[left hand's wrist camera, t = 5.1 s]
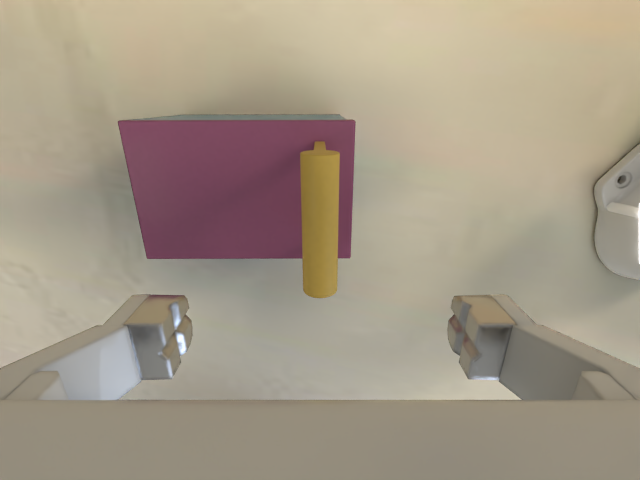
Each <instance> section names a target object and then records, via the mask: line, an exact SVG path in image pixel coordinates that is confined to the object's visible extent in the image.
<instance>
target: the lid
mask: <svg viewBox="0 0 640 480" xmlns="http://www.w3.org/2000/svg"><path fill="white" fill-rule="evenodd" d="M118 125H119V130H120V134H121V139H122V144H123V148H124V153H125V158H126V162H127V167H128V172H129V176H130V181H131V186H132V191H133V195H134V200H135V205H136V209H137V214H138V219H139V223H140V228H141V233H142V237H143V242H144V247H145V251H146V256H147V259H244V258H303V290H304V292H305V294H307V295H308V296H311V297H314V298H326V297H330V296H332V295H334V294H335V293H336V291H337V266H338V258H350V257H351V231H352V203H353V175H354V146H355V121H354V120H122V121H118Z"/></svg>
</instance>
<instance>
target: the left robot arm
mask: <svg viewBox="0 0 640 480" xmlns="http://www.w3.org/2000/svg"><path fill="white" fill-rule="evenodd" d="M620 176H621V177H620ZM619 177H620V180H619V181H618V178H619ZM594 196H595V201H596V205H597V208H598V217H597V222H596V227H595V234H594V241H595V248H596V251H597V254H598V256H599V258H600V260H601V262H602V263H603V264H604V265H605V266H606V267H607V268H608V269H609V270H611V271H612V272H614V273H616V274H618V275H620V276H623V277H627V278H632V279H636V280H640V143H639V144H638V145H637V146H636V147H635V148H634V149H632V150H631V151H630V152H629V153H628V154H627V155H626V156H625V157H624V158H622V159H621V160H620V161H619V162H618V163H617V164H616V165H615V166H614V167H612V168H611V169H610V170H609V171H608V172H607V173H606V174H605V175H604V176H602V177H601V178H600V179H599V180H598V182H597V183H596V185H595V188H594ZM188 309H189V304H188V300H187V298H186V297H185V296H184V295H133V296H131V297H130V298H129V299H128V300H127V301H126V302H125V303H124V304H123V305H122V306H121V307H120V308H119V309H118V310H117V311H116V312H115V313H114V314H113V315H112V316H111V317H110V318H109V319H108V320H107V321H106V322H105V323H104V324H103V325H97V326H95V327H92V328H90V329H88V330H85V331H83V332H81V333H79V334H76V335H74V336H72V337H70V338H67V339H65V340H63V341H61V342H58V343H56V344H54V345H52V346H49V347H47V348H45V349H43V350H40V351H38V352H36V353H34V354H31V355H29V356H27V357H25V358H22V359H20V360H18V361H16V362H13V363H11V364H9V365H7V366H4V367H2V368H0V480H640V368H638V367H635V366H633V365H631V364H629V363H626V362H624V361H622V360H620V359H617V358H615V357H613V356H611V355H608V354H606V353H604V352H602V351H599V350H597V349H595V348H593V347H590V346H588V345H586V344H584V343H581V342H579V341H577V340H575V339H572V338H570V337H568V336H566V335H563V334H561V333H559V332H557V331H554V330H552V329H550V328H548V327H545V326H543V325H537V324H536V323H535V322H534V321H533V320H532V319H531V318H530V317H529V316H528V315H527V314H526V313H525V312H524V311H523V310H522V309H521V308H520V307H519V306H518V305H517V304H516V303H515V302H514V301H513V300H512V299H511V298H510V297H509V296H507V295H504V294H501V295H468V296H454V298H453V300H452V304H451V309H452V311H453V312H454V315H453V316H452V317H451V318H450V320H449V321H448V329H447V331H448V340H449V343H450V346H451V348H452V350H453V352H455V353H456V354H458V355H459V356H460V359H459V363H460V365H461V367H462V369H463V370H464V372H465V374H466V376H467V378H468V379H482V380H499V382H500V383H502V384H503V385H504V386H505V387H507V388H508V389H509V390H510V391H512V392H513V393H514V394H516V395H517V396H518V397H519V398H521V399H522V400H118V399H119V398H121V397H122V396H123V395H125V394H126V393H127V392H128V391H130V390H131V389H132V388H133V387H135V386H136V385H137V384H139V383H140V382H141V380H157V379H172V378H173V376H174V374H175V372H176V370H177V369H178V367H179V365H180V363H181V359H180V356H181V355H182V354H184V353H185V352H187V350H188V348H189V346H190V344H191V339H192V321H191V320H190V319H189V317H188V316H187V315H186V312H187V311H188Z"/></svg>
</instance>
